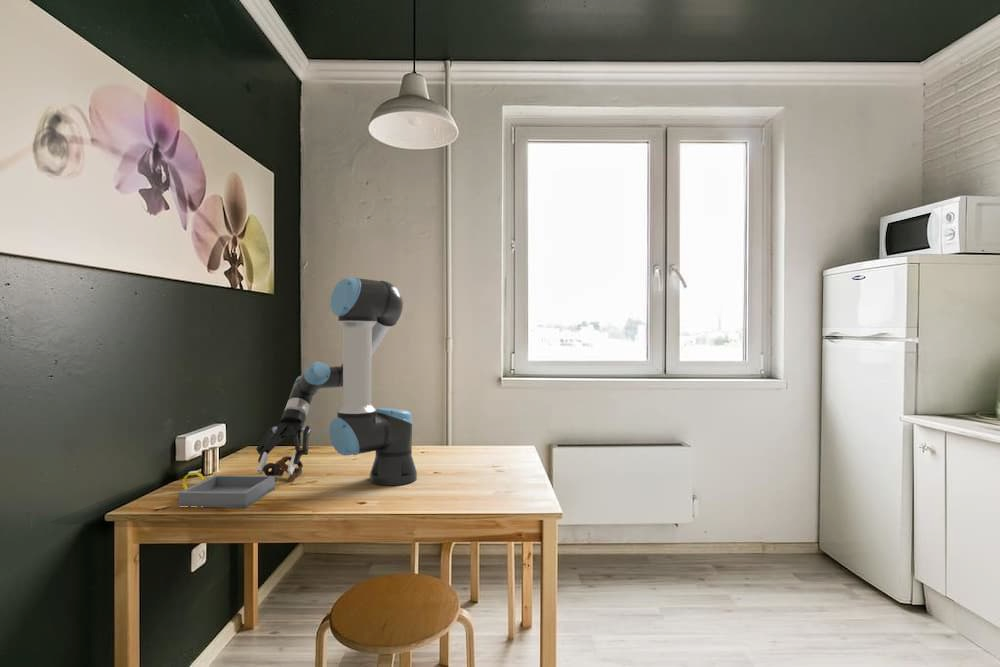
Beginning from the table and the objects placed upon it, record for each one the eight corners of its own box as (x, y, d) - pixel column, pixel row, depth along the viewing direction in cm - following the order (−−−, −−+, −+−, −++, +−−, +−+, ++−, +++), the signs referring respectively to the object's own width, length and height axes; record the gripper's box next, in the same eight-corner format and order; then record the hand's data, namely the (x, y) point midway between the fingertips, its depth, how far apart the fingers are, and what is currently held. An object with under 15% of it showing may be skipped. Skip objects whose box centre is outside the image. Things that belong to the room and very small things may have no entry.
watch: (181, 493, 160) (180, 473, 160) (186, 491, 163) (185, 471, 163) (202, 492, 161) (200, 472, 161) (206, 489, 163) (205, 469, 163)
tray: (274, 489, 165) (274, 475, 165) (245, 508, 146) (245, 493, 146) (215, 488, 165) (215, 475, 165) (178, 507, 146) (178, 492, 146)
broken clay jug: (288, 475, 183) (299, 455, 182) (298, 493, 176) (309, 472, 175) (254, 472, 174) (266, 451, 173) (263, 491, 168) (275, 469, 167)
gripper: (328, 421, 188) (311, 479, 172) (267, 420, 189) (244, 478, 172) (323, 408, 183) (305, 466, 167) (260, 407, 183) (236, 465, 167)
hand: (274, 472), depth 170 cm, fingers closed on broken clay jug, 9 cm apart
